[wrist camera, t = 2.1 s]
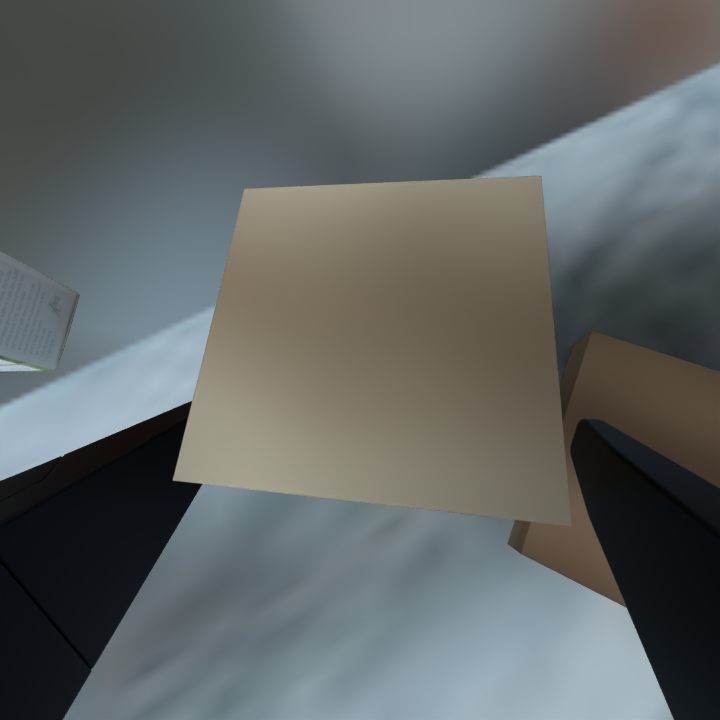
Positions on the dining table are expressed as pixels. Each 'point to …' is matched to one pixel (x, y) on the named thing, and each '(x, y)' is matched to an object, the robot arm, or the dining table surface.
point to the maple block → (386, 351)
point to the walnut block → (638, 420)
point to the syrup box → (32, 318)
